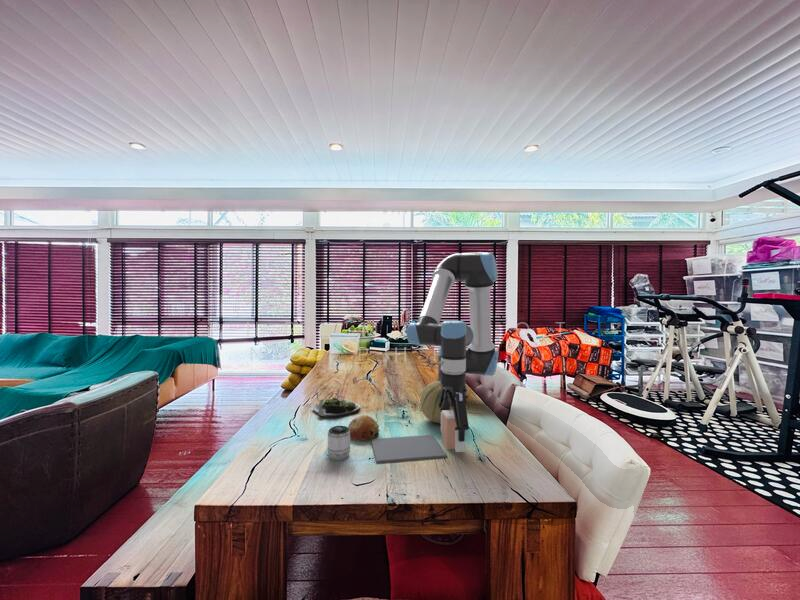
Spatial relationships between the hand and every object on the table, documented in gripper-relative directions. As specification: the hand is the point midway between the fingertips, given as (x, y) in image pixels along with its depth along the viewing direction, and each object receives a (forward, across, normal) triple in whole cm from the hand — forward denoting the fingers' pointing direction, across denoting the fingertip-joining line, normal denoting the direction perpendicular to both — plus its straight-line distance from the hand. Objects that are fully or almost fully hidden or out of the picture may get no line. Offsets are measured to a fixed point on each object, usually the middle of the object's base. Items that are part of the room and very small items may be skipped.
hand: (452, 441), depth 103 cm
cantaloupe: (+1, -19, +2) cm, 19 cm away
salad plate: (+2, -37, -35) cm, 51 cm away
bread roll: (+2, -12, -26) cm, 28 cm away
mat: (+1, 0, -14) cm, 14 cm away
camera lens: (+2, +1, -34) cm, 34 cm away
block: (+1, 0, 0) cm, 1 cm away
